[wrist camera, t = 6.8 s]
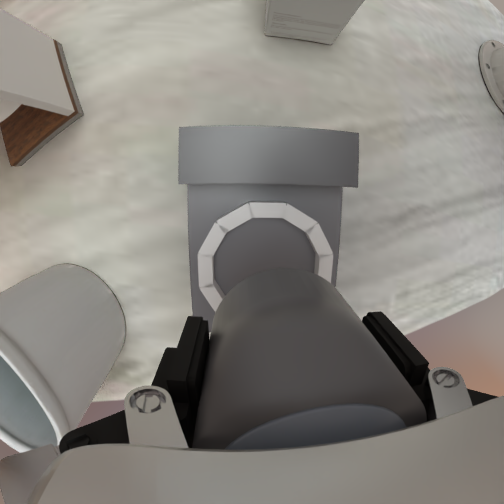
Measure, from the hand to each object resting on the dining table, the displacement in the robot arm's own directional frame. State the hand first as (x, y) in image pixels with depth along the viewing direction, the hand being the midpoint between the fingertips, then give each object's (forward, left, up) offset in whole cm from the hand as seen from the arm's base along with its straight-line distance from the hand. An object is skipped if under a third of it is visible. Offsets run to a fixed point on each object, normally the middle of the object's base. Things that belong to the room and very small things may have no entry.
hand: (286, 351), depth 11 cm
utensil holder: (+22, +9, -19) cm, 31 cm away
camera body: (0, -2, -19) cm, 19 cm away
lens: (0, 0, -1) cm, 1 cm away
